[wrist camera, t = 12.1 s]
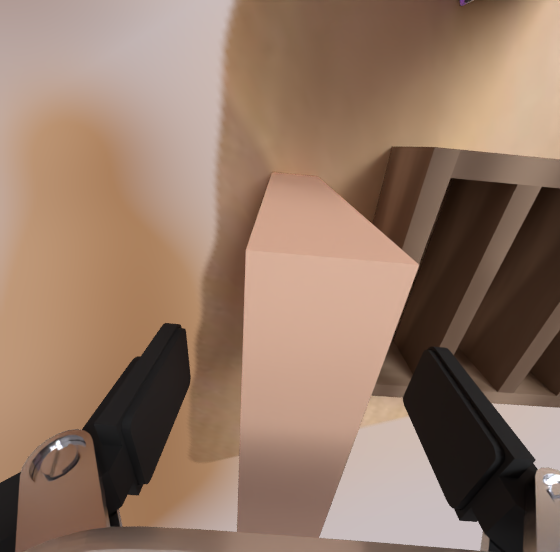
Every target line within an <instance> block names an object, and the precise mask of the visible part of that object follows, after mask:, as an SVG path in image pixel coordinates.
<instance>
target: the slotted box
mask: <svg viewBox="0 0 560 552" xmlns="http://www.w3.org/2000/svg"><path fill="white" fill-rule="evenodd" d="M450 178H453V180H452V183H451V186H450V189H449V191H448V194H447V197H446V199H445V202H444V205H443V208H442V210H441V213H440V216H439V218H438V221H437V224H436V226H435V229H434V232H433V235H432V237H431V240H430V243H429V245H428V248H427V251H426V254H425V256H424V259H423V262H422V264H421V267H420V270H419V273H418V275H417V278H416V281H415V283H414V286H413V289H412V292H411V294H410V297H409V300H408V302H407V305H406V308H405V310H404V313H403V316H402V319H401V321H400V324H399V327H398V329H397V332H396V335H395V338H394V340H392V341H391V343H390V346H389V349H388V351H387V354H386V357H385V360H384V362H383V365H382V368H381V371H380V373H379V376H378V379H377V381H376V384H375V387H374V390H373V392H372V395H371V396H387V397H403V396H404V393H405V391H406V389H407V387H408V385H409V382H410V380H411V378H412V376H413V373H414V371H415V369H416V367H417V365H418V362H419V360H420V358H421V356H422V354H423V352H424V350H427V349H428V348H429V347H431V346H433V347H444V348H448V349H449V350H450V351H451V353H452V354H453V355H454V356H455V358H456V359H457V360H458V362H459V363H460V364H461V365H462V367H463V368H464V369H465V370H466V372H467V373H468V374H469V376H470V377H471V378H472V379H473V381H474V382H475V383H476V385H477V386H478V387H479V388H480V390H481V391H482V392H483V393H484V395H485V396H486V397H487V399H488V400H489V401H490V402H491V403H497V404H513V405H529V406H543V407H560V160H558V159H548V158H538V157H528V156H518V155H508V154H498V153H488V152H478V151H468V150H458V149H447V148H437V147H392V150H391V154H390V158H389V162H388V166H387V170H386V173H385V177H384V181H383V185H382V189H381V193H380V197H379V201H378V205H377V209H376V213H375V217H374V221H373V225H374V226H375V227H376V228H378V229H379V230H380V231H381V232H382V233H383V234H384V235H386V236H387V237H388V238H389V239H390V240H391V241H392V242H394V243H395V244H396V245H397V246H398V247H399V248H400V249H402V250H403V251H404V252H405V253H406V254H407V255H409V256H410V257H411V258H412V259H413V260H414V261H415V262H417V263H418V264H419V263H420V260H421V258H422V255H423V252H424V249H425V247H426V244H427V241H428V238H429V236H430V233H431V230H432V228H433V225H434V222H435V219H436V217H437V214H438V211H439V208H440V206H441V203H442V200H443V197H444V195H445V192H446V189H447V186H448V184H449V181H450Z"/></svg>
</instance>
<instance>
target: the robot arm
mask: <svg viewBox="0 0 560 552" xmlns="http://www.w3.org/2000/svg"><path fill="white" fill-rule="evenodd" d="M189 385H190V367H189V357H188V348H187V338H186V330H185V329H183V328H181V325H179V324H169V323H165V324H163V326H162V327H161V328H160V330H159V331H158V332H157V334H156V335H155V337H154V338H153V340H152V341H151V343H150V344H149V345H148V347H147V348H146V350H145V351H144V353H143V354H142V356H141V357H136V358H134V359H133V360H132V362H131V363H130V364H129V365H128V367H127V368H126V370H125V371H124V372H123V374H122V375H121V376H120V378H119V379H118V381H117V382H116V383H115V385H114V386H113V387H112V389H111V390H110V392H109V393H108V394H107V396H106V397H105V398H104V400H103V401H102V403H101V404H100V405H99V407H98V408H97V409H96V411H95V412H94V414H93V415H92V416H91V418H90V419H89V420H88V422H87V423H86V425H85V426H84V427H83V429H82V430H79V429H75V430H68V431H65V432H62V433H59V434H57V435H55V436H53V437H51V438H49V439H48V440H46V441H45V442H44V443H42V444H41V445H40V446H38V447H37V448H36V449H35V450H34V451H33V453H32V454H31V455H30V456H29V457H28V459H27V460H26V462H25V464H24V465H23V467H22V470H21V472H20V473H18V474H16V475H14V476H12V477H11V478H8V479H7V480H5V481H3V482H1V483H0V552H560V471H558V470H555V469H552V468H540V469H539V470H538V469H537V468H536V467H535V465H534V464H533V462H534V461H535V459H534V457H533V456H532V455H531V454H530V452H529V451H528V450H527V448H526V447H525V446H524V445H523V443H522V442H521V441H520V439H519V438H518V437H517V436H516V434H515V433H514V432H513V431H512V429H511V428H510V427H509V425H508V424H507V423H506V422H505V420H504V419H503V418H502V416H501V415H500V414H499V413H498V411H497V410H496V409H495V408H494V406H493V405H492V404H491V402H490V401H489V400H488V399H487V397H486V396H485V395H484V393H483V392H482V391H481V390H480V388H479V387H478V386H477V385H476V383H475V382H474V381H473V379H472V378H471V377H470V376H469V374H468V373H467V372H466V370H465V369H464V368H463V367H462V365H461V364H460V363H459V362H458V360H457V359H456V358H455V356H454V355H453V354H452V353H451V351H450V350H449V349H448V348H444V347H433V346H431V347H429V348H428V349H427V350H424V352H423V354H422V356H421V358H420V360H419V362H418V365H417V367H416V369H415V371H414V373H413V376H412V378H411V380H410V382H409V385H408V387H407V389H406V391H405V393H404V396H403V402H404V406H405V408H406V410H407V412H408V415H409V417H410V419H411V421H412V424H413V426H414V428H415V430H416V433H417V435H418V437H419V439H420V442H421V444H422V446H423V448H424V451H425V453H426V455H427V457H428V460H429V462H430V464H431V466H432V469H433V471H434V473H435V475H436V478H437V480H438V482H439V484H440V487H441V488H442V491H443V493H444V496H445V497H446V500H447V502H448V504H449V505H450V506H451V507H452V508H454V509H455V511H456V514H457V516H458V518H459V520H460V521H473V522H477V521H478V522H479V524H480V526H481V528H482V530H483V535H482V542H481V550H480V551H474V550H463V549H451V548H439V547H427V546H415V545H402V544H390V543H377V542H364V541H351V540H339V539H325V538H312V537H299V536H286V535H272V534H258V533H244V532H230V531H229V532H228V531H216V530H201V529H181V528H162V527H161V528H160V527H122V523H121V518H120V512H119V508H120V507H121V506H122V505H123V503H124V501H125V499H126V497H127V495H139V493H140V491H141V488H142V486H143V484H148V483H149V481H150V480H151V478H152V475H153V473H154V471H155V468H156V466H157V463H158V461H159V458H160V456H161V453H162V451H163V449H164V446H165V444H166V441H167V439H168V436H169V434H170V432H171V429H172V427H173V424H174V421H175V419H176V417H177V414H178V412H179V409H180V407H181V405H182V402H183V400H184V397H185V395H186V393H187V390H188V388H189Z"/></svg>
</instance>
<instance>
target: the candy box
mask: <svg viewBox="0 0 560 552" xmlns="http://www.w3.org/2000/svg"><path fill="white" fill-rule="evenodd" d="M471 1H473V0H460V6H463V5H465V4H467V3H469V2H471Z"/></svg>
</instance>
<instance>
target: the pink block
mask: <svg viewBox="0 0 560 552" xmlns="http://www.w3.org/2000/svg"><path fill="white" fill-rule="evenodd" d="M418 267H419V264H418V263H417V262H415V261H414V260H413V259H412V258H411V257H410V256H409V255H407V254H406V253H405V252H404V251H403V250H402V249H400V248H399V247H398V246H397V245H396V244H395V243H394V242H392V241H391V240H390V239H389V238H388V237H387V236H386V235H384V234H383V233H382V232H381V231H380V230H379V229H378V228H376V227H375V226H374V225H373V224H372V223H371V222H370V221H368V220H367V219H366V218H365V217H364V216H363V215H361V214H360V213H359V212H358V211H357V210H356V209H355V208H353V207H352V206H351V205H350V204H349V203H348V202H347V201H345V200H344V199H343V198H342V197H341V196H340V195H339V194H337V193H336V192H335V191H334V190H333V189H332V188H331V187H329V186H328V185H327V184H326V183H325V182H324V181H322V180H321V179H320V178H319V177H318V176H308V175H298V174H287V173H277V172H272V174H271V177H270V180H269V183H268V186H267V189H266V192H265V195H264V198H263V201H262V204H261V207H260V210H259V213H258V216H257V219H256V222H255V225H254V227H253V230H252V233H251V236H250V239H249V242H248V245H247V248H246V260H245V292H244V324H243V356H242V389H241V421H240V453H239V487H238V517H237V518H238V519H237V532H244V533H258V534H272V535H286V536H299V537H312V538H319V536H320V533H321V531H322V527H323V525H324V522H325V519H326V517H327V514H328V512H329V509H330V506H331V504H332V501H333V498H334V495H335V493H336V490H337V487H338V484H339V482H340V479H341V476H342V474H343V471H344V468H345V466H346V463H347V460H348V457H349V454H350V452H351V449H352V447H353V444H354V441H355V438H356V435H357V433H358V430H359V428H360V425H361V422H362V419H363V417H364V414H365V411H366V409H367V406H368V403H369V400H370V398H371V395H372V392H373V390H374V387H375V384H376V381H377V379H378V376H379V373H380V371H381V368H382V365H383V362H384V360H385V357H386V354H387V351H388V349H389V346H390V343H391V341H392V338H393V335H394V332H395V330H396V327H397V324H398V322H399V319H400V316H401V313H402V311H403V308H404V305H405V303H406V300H407V297H408V294H409V292H410V289H411V286H412V284H413V281H414V278H415V275H416V273H417V270H418Z"/></svg>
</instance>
